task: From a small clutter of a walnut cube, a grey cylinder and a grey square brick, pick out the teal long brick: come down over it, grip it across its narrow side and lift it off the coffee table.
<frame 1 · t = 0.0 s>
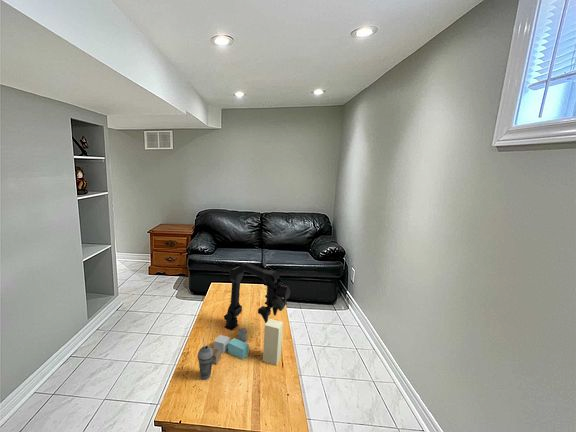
hand: (270, 319, 153), 15 cm above the table, fingers open, 9 cm apart
grey square brick: (221, 348, 148), on the table
walnut cube: (214, 360, 139), on the table
grey cylinder: (242, 340, 156), on the table
beverage cup: (205, 376, 128), on the table
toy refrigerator: (272, 359, 142), on the table
teal long brick: (238, 353, 145), on the table
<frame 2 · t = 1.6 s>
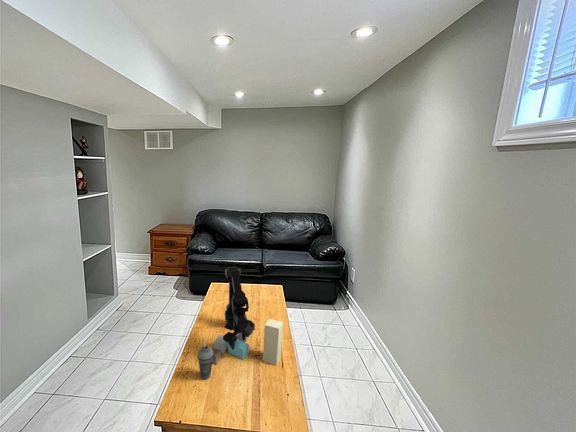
hand: (238, 344, 144), 5 cm above the table, fingers open, 9 cm apart
nothing on the table moved.
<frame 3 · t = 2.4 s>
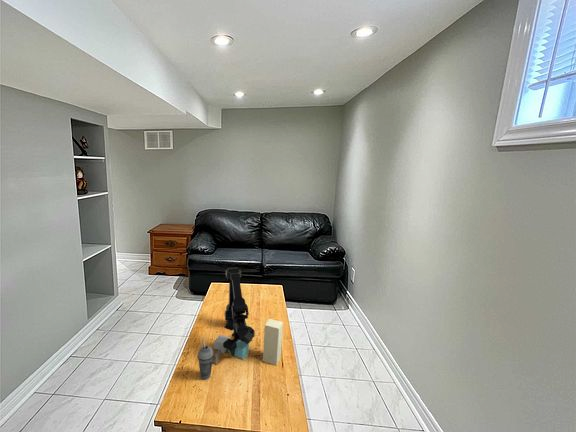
hand: (238, 351, 145), 1 cm above the table, fingers open, 8 cm apart
nothing on the table moved.
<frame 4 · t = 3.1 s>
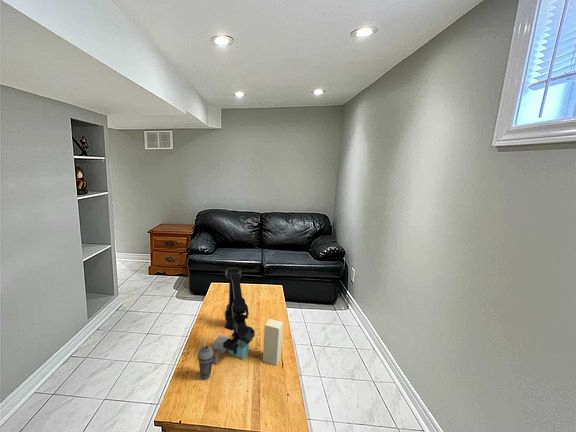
hand: (238, 351, 145), 1 cm above the table, fingers closed on teal long brick, 5 cm apart
teal long brick: (238, 353, 145), on the table, touching gripper
everything else where it was.
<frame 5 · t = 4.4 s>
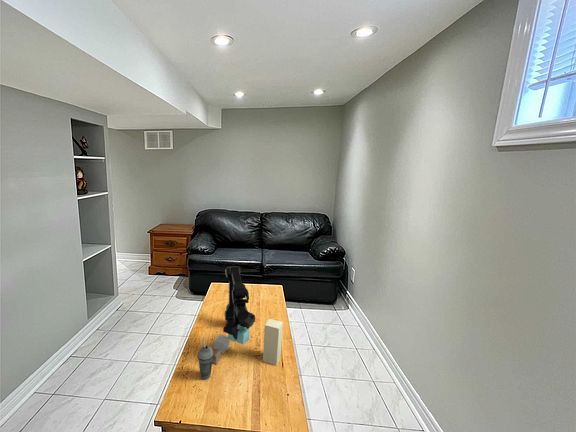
hand: (238, 336, 143), 10 cm above the table, fingers closed on teal long brick, 5 cm apart
teal long brick: (238, 338, 143), point 9 cm above the table, touching gripper
everything else where it was.
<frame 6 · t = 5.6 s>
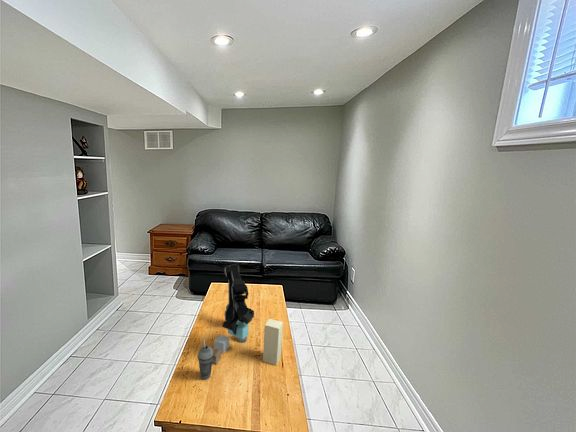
hand: (238, 331, 146), 11 cm above the table, fingers closed on teal long brick, 5 cm apart
teal long brick: (238, 333, 146), point 10 cm above the table, touching gripper
everything else where it was.
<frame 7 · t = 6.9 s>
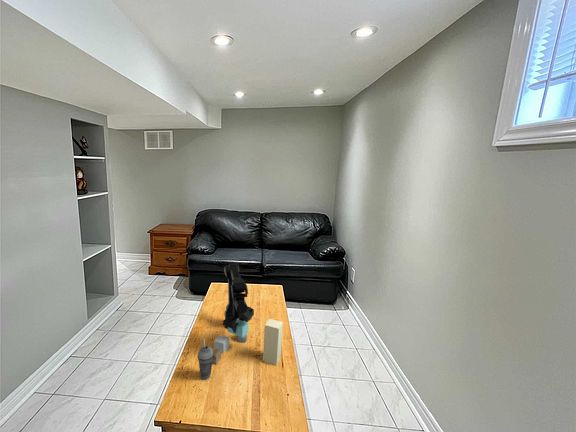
hand: (237, 330, 147), 11 cm above the table, fingers closed on teal long brick, 5 cm apart
teal long brick: (237, 332, 147), point 10 cm above the table, touching gripper
everything else where it was.
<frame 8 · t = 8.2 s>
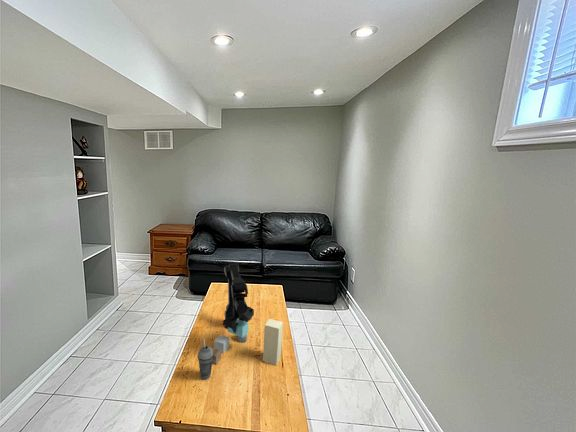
hand: (237, 330, 147), 11 cm above the table, fingers closed on teal long brick, 5 cm apart
teal long brick: (237, 332, 147), point 10 cm above the table, touching gripper
everything else where it was.
at the end: the gripper is holding teal long brick; teal long brick point 9.7 cm above the table; grey square brick moved 0.1 cm from its start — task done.
